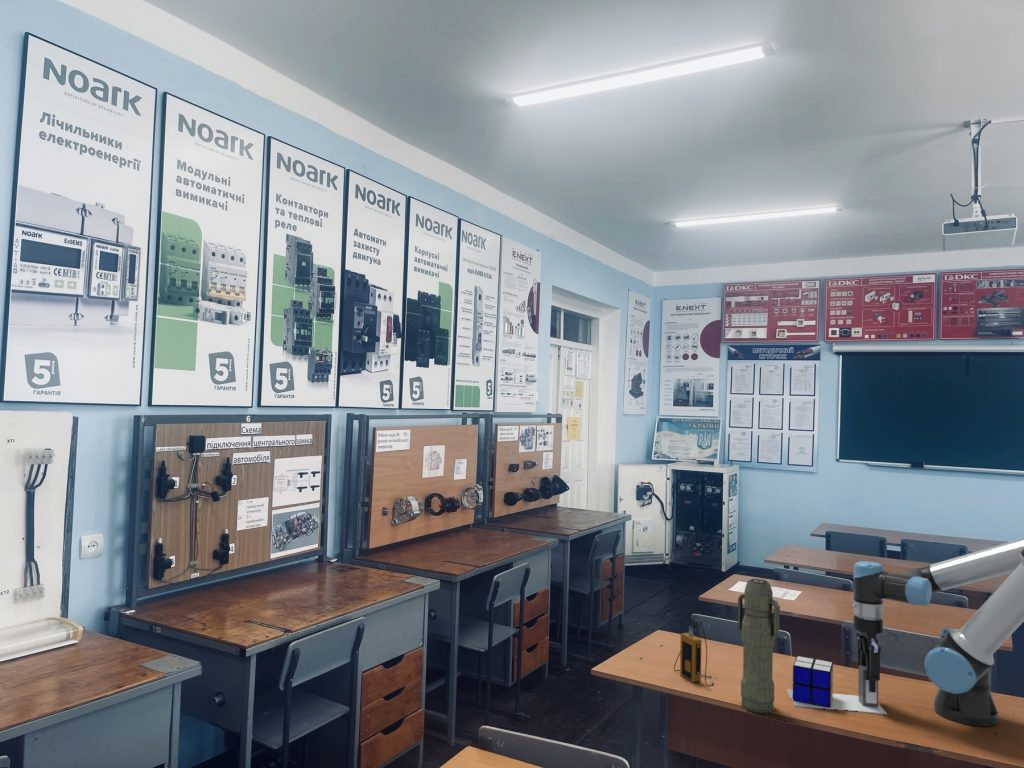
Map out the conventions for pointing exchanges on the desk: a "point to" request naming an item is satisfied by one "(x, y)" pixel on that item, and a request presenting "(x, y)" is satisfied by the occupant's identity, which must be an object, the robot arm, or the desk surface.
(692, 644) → the multimeter
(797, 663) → the puzzle cube
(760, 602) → the thermos
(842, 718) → the desk surface
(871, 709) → the white flat base
